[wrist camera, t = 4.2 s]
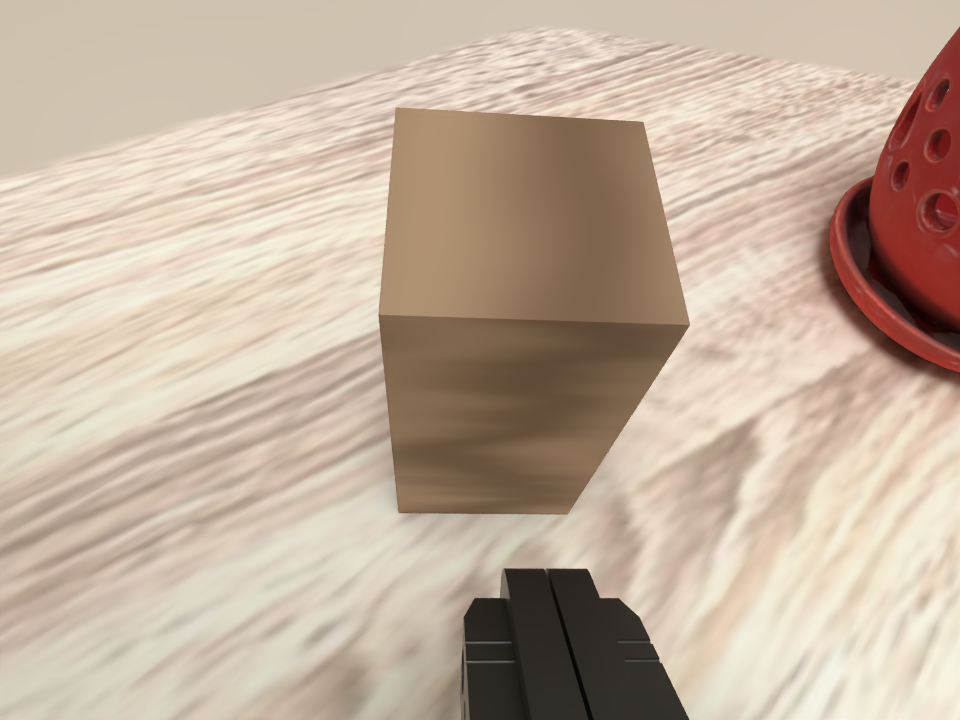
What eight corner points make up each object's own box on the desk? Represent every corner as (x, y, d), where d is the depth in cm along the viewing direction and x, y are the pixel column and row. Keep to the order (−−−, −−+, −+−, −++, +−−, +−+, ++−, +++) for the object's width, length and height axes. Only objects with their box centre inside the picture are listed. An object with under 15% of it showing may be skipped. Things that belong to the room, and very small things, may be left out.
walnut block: (398, 512, 22) (378, 314, 12) (406, 365, 25) (395, 107, 15) (567, 514, 22) (689, 325, 12) (554, 369, 25) (643, 121, 15)
